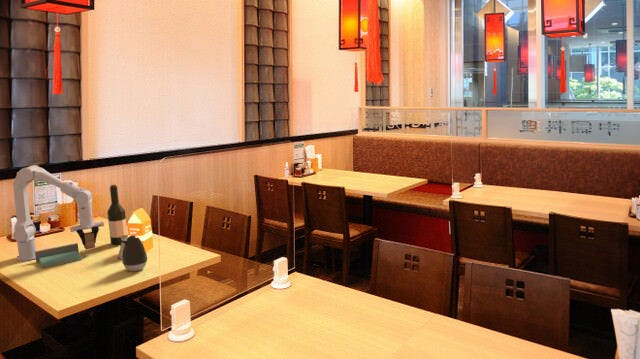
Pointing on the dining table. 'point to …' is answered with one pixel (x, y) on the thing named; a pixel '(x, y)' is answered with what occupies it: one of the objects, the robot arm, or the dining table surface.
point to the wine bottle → (116, 218)
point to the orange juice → (141, 228)
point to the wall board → (58, 255)
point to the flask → (122, 246)
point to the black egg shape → (134, 254)
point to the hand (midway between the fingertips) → (89, 243)
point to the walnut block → (89, 240)
